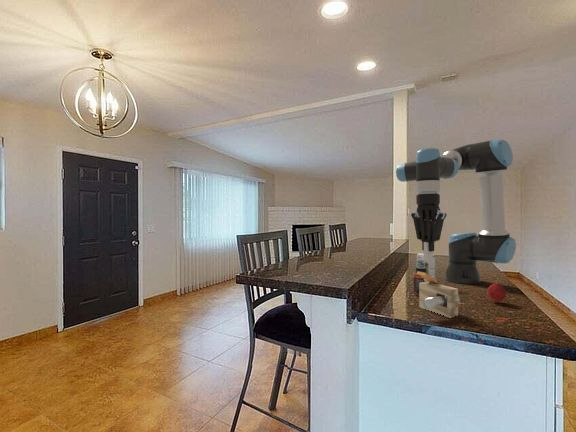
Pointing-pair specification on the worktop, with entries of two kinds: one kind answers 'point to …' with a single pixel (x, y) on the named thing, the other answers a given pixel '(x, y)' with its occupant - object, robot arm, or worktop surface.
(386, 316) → the worktop surface
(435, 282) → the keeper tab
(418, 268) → the supplement bottle
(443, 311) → the block
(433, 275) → the syrup box
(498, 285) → the onion
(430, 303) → the pin
